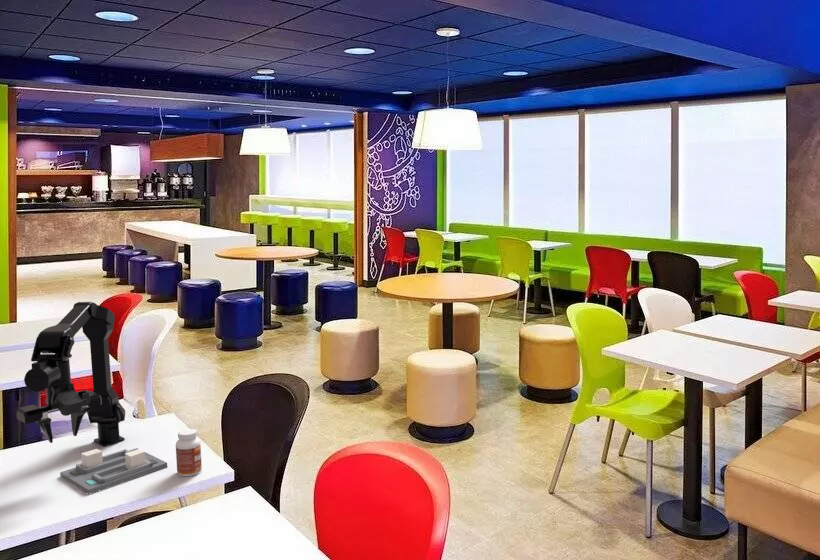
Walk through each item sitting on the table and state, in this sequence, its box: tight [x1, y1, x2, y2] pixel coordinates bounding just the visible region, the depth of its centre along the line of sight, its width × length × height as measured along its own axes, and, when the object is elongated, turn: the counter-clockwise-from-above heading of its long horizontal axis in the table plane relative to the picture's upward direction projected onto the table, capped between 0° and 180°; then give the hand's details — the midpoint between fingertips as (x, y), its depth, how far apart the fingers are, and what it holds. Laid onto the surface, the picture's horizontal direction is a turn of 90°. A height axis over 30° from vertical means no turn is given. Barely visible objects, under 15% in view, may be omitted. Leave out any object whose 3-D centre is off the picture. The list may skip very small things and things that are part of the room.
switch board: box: [59, 447, 168, 495], centre depth 182 cm, size 16×21×2 cm
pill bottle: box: [175, 428, 203, 477], centre depth 180 cm, size 6×6×11 cm
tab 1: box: [81, 448, 103, 468], centre depth 181 cm, size 3×4×4 cm
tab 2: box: [125, 448, 146, 469], centre depth 181 cm, size 3×4×4 cm
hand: (63, 439), depth 175 cm, fingers open, 6 cm apart
